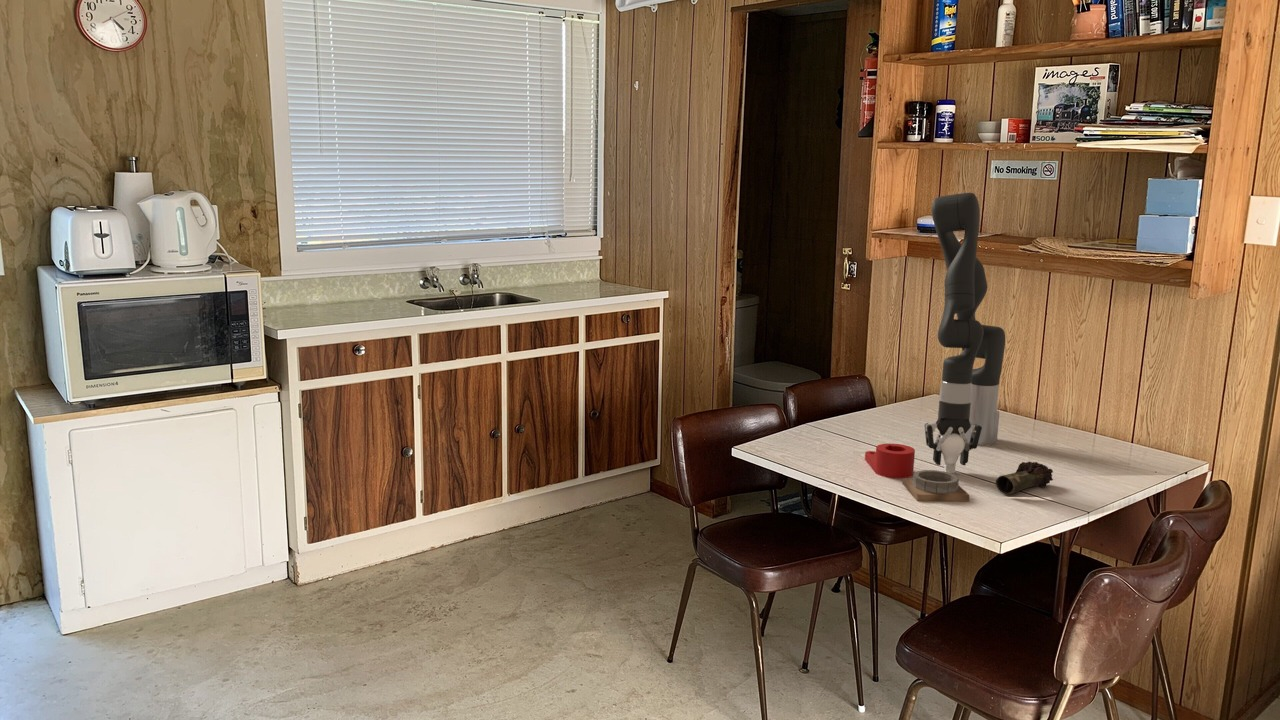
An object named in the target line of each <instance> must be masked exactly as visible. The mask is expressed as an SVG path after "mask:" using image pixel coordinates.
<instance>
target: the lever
mask: <svg viewBox="0 0 1280 720" xmlns="http://www.w3.org/2000/svg"><path fill="white" fill-rule="evenodd" d="M915 454H916V449H915V448H914V447H911V446H908V445H907V444H901V443H880V444H877V445H876V447H875V451H872V450H869V451H868V450H867V451H865V454H864V460H865V461H866V463H867V464H868V466H869V467H870V468H871V469H872V471H873V472H874V473H875V474H876V475H878V476H880V477H883V478H887V479H888V478H889V479H909V478H911V477H913V474H914V468H915Z"/></svg>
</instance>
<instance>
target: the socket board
mask: <svg viewBox="0 0 1280 720" xmlns="http://www.w3.org/2000/svg"><path fill="white" fill-rule="evenodd" d="M959 482H960V478H959V477H958V476H957V475H955V473H948V472H944V470H943V471H941V470H936V469H935V470H934V469H933V470H932V469H923V470H917V471H915V472H913V475H912V478H902V483H901V484H902V485H903V486H904V488H906V490H907V492H909V493H910V494H911V496H912V497H913V499H915V500H916V501H917V502H919V501H920V502H970V494H969V493H968V492H967V491H966V490H964V489H963V487H961V485H959Z"/></svg>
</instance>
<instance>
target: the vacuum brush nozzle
mask: <svg viewBox="0 0 1280 720" xmlns="http://www.w3.org/2000/svg"><path fill="white" fill-rule="evenodd" d="M1053 473H1054V470H1053V469H1052V468H1049V467H1048V466H1047V465H1044V464H1043V463H1039V462H1038V461H1033V462H1032V461H1027V462H1025V461H1022V462H1021V463H1019V464H1018V468H1017V469H1016V471H1015V472H1011V473H1008V474H1007V473H1006V474H1003V475H1000V476H998V477H997V478H996V480H995V485H996V488H997V489H998V491H999V492H1000V493H1002V494H1004V495H1006V496H1008V495H1011V494H1013V493H1016V492H1020V491H1023V490H1025V489H1029V488H1031V487H1041V488H1046V487H1047V485H1048V484H1050V483H1051V481H1054V479H1053V477H1052V476H1053Z"/></svg>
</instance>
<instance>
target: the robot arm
mask: <svg viewBox="0 0 1280 720" xmlns="http://www.w3.org/2000/svg"><path fill="white" fill-rule="evenodd" d="M980 212H981V211H980V204H979V200H978V198H977V195H976V194H975V193H974V192H962V193H955V194H948V195H941V196H937V197H936V198H934V199H933V201H932V203H931V217H932V221H933V225H934V229H935V232H936V235H937V237H938V240H939V241H938V242H939V245H940V247H941V251H942V254H943V259H944V262H945V266H946V268H945V269H946V273H945V276H944V307H943V313H942V317H941V320H940V322H939V327H938V330H937V340H938V343H939V344H940V345H941V346H942V347H944V348H948V349H961V350H962V352H961V353H960V354H957V355H953V356H948V357H946V358H945V359H944V360H943V363H942V374H941V375H942V376H941V383H940V388H939V401H938V413H937V414H938V415H937V420H936V422H934V423H928V422H927V423H925V424H924V433H925V434H924V435H925V444H926V446H927V447H928V448H930V449H932V450H933V452H932V453H933V454H932V456H933V457H932V460H933V462H934V463H935V465H937V466H941V462H942V453H941V452H942V451H941V448H942V447H941V445H942V443H943V442H944V441H945V440H946V439H947V438H948V437H949V435H950V434H958V435H960V437H961V438H962V439H963V441H964V443H965V447H964V450H963V452H962V453H961V454H960V455H959V464H960V465H961V466H966V464H968V462H969V453H970V451H971V450H973V449H974V450H975V449H977V448H978V446H990V445H991V446H992V445H997V444H998V434H999V433H998V432H999V422H1000V421H999V420H1000V411H999V410H998V404H999V403H998V400H999V390H1000V389H999V388H1000V381H1001V380H1000V379H1001V375H1002V369H1003V362H1004V355H1005V347H1006V333H1005V329H1003V328H1002V327H1000V326H995V325H988V324H987V325H986V324H982V323H981V322H980V321H978V320H976V312H977V309H978V308H979V306H980V305H981V303H982V302H983V300H984V298H985V296H986V294H987V291H988V281H987V277H986V272H985V267H984V264H982V262H981V260H980V259H979V258H978V257H977V250H978V241H979V232H980V231H979V228H980V218H981V217H980V216H981V213H980ZM960 231H964V236H963V240H962V243H961V242H960V241H959V240H958V238H957V236H956V235H955V232H960ZM955 315H956V318H955ZM976 359H982V360H984V365H982V366H981V367H978V368H974V363H975V360H976ZM936 429H937V430H938V431H939V432H938V434H937V436H936V439H935V441H934V432H935V431H936ZM941 435H942V436H943V437H942V438H940V437H941ZM944 438H945V439H944Z"/></svg>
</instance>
